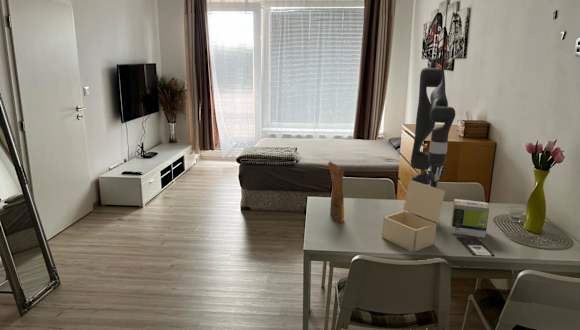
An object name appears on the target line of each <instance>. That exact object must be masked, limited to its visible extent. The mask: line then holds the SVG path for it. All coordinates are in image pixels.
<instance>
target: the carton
mask: <svg viewBox="0 0 580 330" xmlns="http://www.w3.org/2000/svg"><path fill="white" fill-rule="evenodd" d="M382 222H383V223H382V229H381V231H382V233H381V238H382V239H384V240H387V241H389V242H391V243H393V244H395V245H397V246H399V247H402V248H404V249H405V250H408V251H410V252H411V253H416V252H419V251H422V250H425V249H427V248H429V247H431V246H434V245H435V241H436V233H437V232H436V231H437V222H435V221H432V220H429V219H427V218H424V217H421V216H415V215H413V214H410V213H409V212H408V211H406V210H403V211H400V212H396V213H393V214H390V215H386V216H383V221H382Z"/></svg>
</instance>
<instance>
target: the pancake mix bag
mask: <svg viewBox="0 0 580 330" xmlns="http://www.w3.org/2000/svg"><path fill="white" fill-rule="evenodd" d="M327 164H328V169H329V172H330V178H331V184H332V185H331V198H330V209H329V211H330V216H331V217H332V219H333V220H334V222H335V223H340V224H342V223H343V222H344V220H345V207H344V191H343V190H344V170H343V168H342V167H340V166H339V165H337V164H336V163H333V162H332V161H331V160H330V161H329V162H328V163H327Z"/></svg>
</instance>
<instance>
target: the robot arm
mask: <svg viewBox="0 0 580 330" xmlns="http://www.w3.org/2000/svg"><path fill="white" fill-rule="evenodd" d="M427 88H434V89H433V90H432V92H431V93H430V95H429V96H430V97H428V91H427ZM418 92H419V93H418V104H417V111H416V119H415V130H414V139H413V146H412V152H411V156H410V167H411V168H412V169H415V170H421V171H423V173H418V174H414V175H413V176H412V178H411V180H412V181H416V182H419V183H422V184H425V185H429V186H432V187H435V188H438V183H439V180H441V179H442V177H443V175H444V173H446V170H447V167H445V166H444V164H445V163H446V162H447V153H448V140H449V133H450V130H451V127H452V125H453V122H454V120H455V117H456V110H455V108H454V107H451V106H449V103H448V102H449V101H448V99H447V95H446V76H445V71H444V70H443V69H442V68H438V67H423V68H422V69H421V71H420V75H419V91H418ZM436 123H440V124H441V123H442V124H443V125H442V126H440V127H439V126H438V127H436V126H435V125H436ZM430 135H431V137H430V144H429V147H428V149H429V150H428V151H427V152H425V151H421V148H422V145H423V143H424V141H426V139H427V138H428V137H429V136H430ZM408 213H410V214H413V213H411V212H408ZM413 215H415V216H418V217H420V216H419V215H416V214H413Z"/></svg>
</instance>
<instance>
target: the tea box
mask: <svg viewBox="0 0 580 330" xmlns="http://www.w3.org/2000/svg"><path fill="white" fill-rule="evenodd" d="M489 213H490V207H489V204H488V201H487V202H486V201H479V200H477V201H475V200H469V199H459V198H454V199H453V206H452V214H451V222H450V225H451V226H450V227H451V228H450V229H451V234H454V235H455V234H456V235H461V236H462V235H463V236H467V237H476V238H483V239H485V238H486V234H487V227H488V223H489V222H488V220H489Z"/></svg>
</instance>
